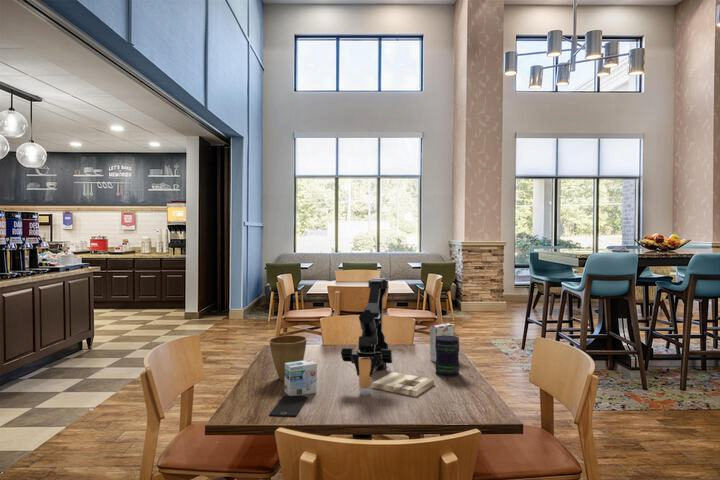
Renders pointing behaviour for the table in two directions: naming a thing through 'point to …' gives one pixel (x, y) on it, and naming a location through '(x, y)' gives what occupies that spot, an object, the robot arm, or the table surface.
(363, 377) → the orange rounded cylinder
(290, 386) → the light bulb box
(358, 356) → the robot arm
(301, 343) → the plant pot
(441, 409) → the table surface
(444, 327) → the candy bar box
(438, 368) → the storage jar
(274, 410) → the cell phone
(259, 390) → the table surface
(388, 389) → the subfloor panel
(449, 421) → the table surface
